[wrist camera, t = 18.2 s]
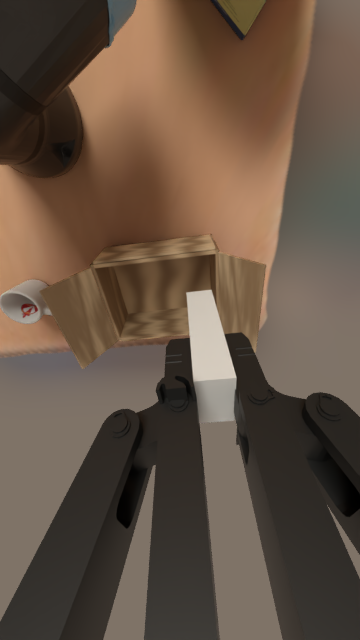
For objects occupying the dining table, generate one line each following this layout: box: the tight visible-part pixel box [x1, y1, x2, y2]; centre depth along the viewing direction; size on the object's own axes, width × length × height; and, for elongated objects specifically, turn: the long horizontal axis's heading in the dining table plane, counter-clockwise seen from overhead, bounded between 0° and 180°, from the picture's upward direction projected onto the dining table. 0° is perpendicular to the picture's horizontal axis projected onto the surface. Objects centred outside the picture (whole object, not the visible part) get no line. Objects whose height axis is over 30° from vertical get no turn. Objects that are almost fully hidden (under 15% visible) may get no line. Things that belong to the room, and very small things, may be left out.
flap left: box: [39, 268, 118, 369], centre depth 39 cm, size 1×16×9 cm
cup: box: [0, 279, 53, 324], centre depth 48 cm, size 11×8×8 cm
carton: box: [90, 234, 220, 341], centre depth 45 cm, size 22×18×10 cm
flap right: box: [219, 252, 266, 353], centre depth 37 cm, size 1×16×9 cm
